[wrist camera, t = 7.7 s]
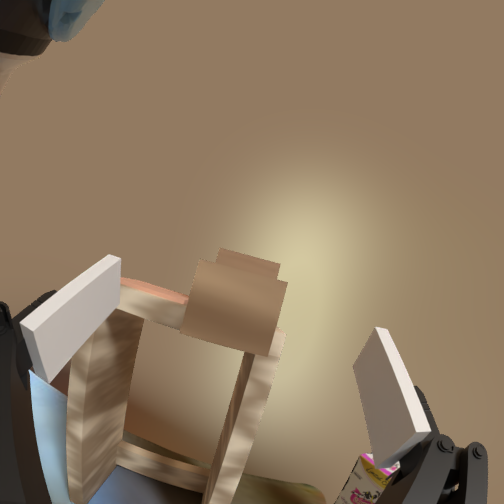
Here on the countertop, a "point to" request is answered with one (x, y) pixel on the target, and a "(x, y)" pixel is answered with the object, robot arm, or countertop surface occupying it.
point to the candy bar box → (365, 482)
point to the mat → (155, 290)
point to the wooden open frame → (116, 396)
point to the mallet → (235, 302)
